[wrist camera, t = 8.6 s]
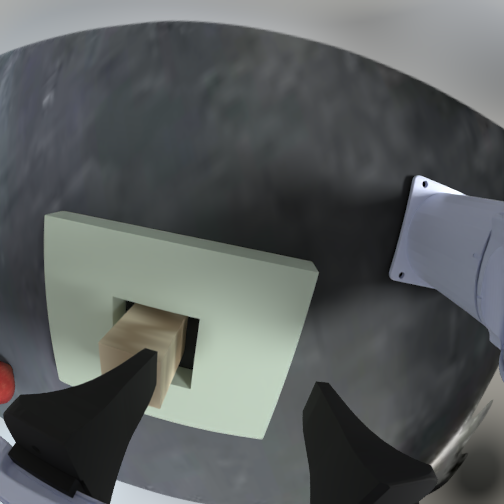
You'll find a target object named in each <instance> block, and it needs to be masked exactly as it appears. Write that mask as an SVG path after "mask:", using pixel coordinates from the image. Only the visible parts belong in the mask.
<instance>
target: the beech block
mask: <svg viewBox="0 0 504 504" xmlns="http://www.w3.org/2000/svg"><path fill="white" fill-rule="evenodd" d="M187 322H188V316H185V315H181V314H177V313H173V312H169V311H165V310H161V309H157V308H153V307H149V306H145V305H142V304H138V303H135V304H134V305H133V306H132V307H131V308H130V309H129V310H128V311H127V312H126V313H125V314H124V315H123V317H122V318H121V319H120V320H119V321H118V322H117V323H116V324H115V325H114V326H113V327H112V328H111V329H110V330H109V331H108V332H107V334H106V335H105V336H104V337H103V338H102V339H101V340H100V341H99V342H98V345H99V356H100V365H101V374H102V375H103V374H105V373H106V372H108V371H110V370H112V369H114V368H115V367H117V366H118V365H120V364H122V363H123V362H125V361H126V360H128V359H129V358H131V357H132V356H134V355H135V354H137V353H138V352H139V351H141V350H142V349H144V348H147V349H151V350H154V351H158V355H157V384H156V387H155V390H154V393H153V396H152V398H151V401H150V403H149V405H148V406H151V407H154V408H158V409H160V408H161V405H162V403H163V401H164V398H165V396H166V393H167V391H168V389H169V386H170V384H171V382H172V379H173V377H174V375H175V372H176V370H177V368H178V365H179V363H180V361H181V358H182V356H183V354H184V350H185V340H186V331H187Z"/></svg>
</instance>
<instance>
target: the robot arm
mask: <svg viewBox="0 0 504 504" xmlns="http://www.w3.org/2000/svg"><path fill="white" fill-rule="evenodd" d="M423 181H424V182H425V187H423V185H422V183H423ZM401 272H402V276H401V277H399V274H400V273H401ZM389 277H390V278H391V279H392V280H394V281H399V282H404V283H409V284H414V285H419V286H423V287H428V288H433V289H436V290H438V291H439V292H441V293H442V294H443V295H445V296H446V297H447V298H449V299H450V300H452V301H453V302H454V303H456V304H457V305H458V306H460V307H461V308H462V309H464V310H465V311H466V312H468V313H469V314H470V315H472V316H473V317H474V318H475V319H477V320H478V321H479V322H481V323H482V324H483V325H484V326H486V327H487V329H488V330H489V333H490V341H491V342H492V343H493V344H494V345H495V346H496V347H498V348H499V349H500V350H501V353H500V358H499V370H500V375H501V378H502V380H503V382H504V202H503V201H497V200H491V199H485V198H479V197H472V196H467V195H465V194H462V193H460V192H458V191H456V190H454V189H451V188H449V187H447V186H445V185H442V184H440V183H437V182H435V181H433V180H430V179H428V178H425V177H423V176H419V175H417V176H414V178H413V180H412V184H411V189H410V194H409V199H408V203H407V208H406V212H405V216H404V220H403V224H402V228H401V232H400V236H399V240H398V243H397V247H396V250H395V254H394V257H393V261H392V264H391V267H390V271H389ZM157 355H158V351H154V350H151V349H147V348H144V349H142V350H141V351H139V352H138V353H137V354H135V355H134V356H132V357H131V358H129V359H128V360H126V361H125V362H123V363H122V364H120V365H118V366H117V367H115V368H114V369H112V370H110V371H108V372H106V373H105V374H103V375H101V376H99V377H97V378H95V379H93V380H90V381H88V382H85V383H83V384H80V385H77V386H74V387H70V388H67V389H63V390H59V391H54V392H48V393H41V394H27V395H20V396H19V397H18V398H17V399H16V400H15V401H14V402H13V403H12V404H11V405H10V406H9V407H8V408H7V410H6V411H5V412H4V414H3V416H4V421H5V423H6V425H7V427H8V429H9V431H10V433H11V435H12V437H13V438H14V440H15V442H16V443H15V445H14V446H13V447H12V446H11V445H10V444H9V443H8V442H7V441H6V440H5V439H3V438H2V437H1V436H0V501H1V502H2V503H3V504H110V501H111V496H112V493H113V489H114V486H115V482H116V479H117V476H118V472H119V469H120V466H121V463H122V460H123V457H124V455H125V452H126V449H127V446H128V444H129V441H130V439H131V437H132V435H133V433H134V431H135V429H136V427H137V426H138V424H139V422H140V420H141V418H142V416H143V414H144V412H145V411H146V409H147V407H148V405H149V403H150V401H151V398H152V396H153V393H154V390H155V387H156V384H157ZM303 433H304V439H305V445H306V451H307V457H308V463H309V470H310V504H419V501H420V500H421V499H423V497H425V496H426V495H427V494H428V493H429V492H430V491H431V490H432V489H433V488H434V487H435V486H436V484H437V482H438V479H437V477H436V475H435V473H434V471H433V468H432V466H431V465H428V464H426V463H423V462H421V461H418V460H416V459H413V458H411V457H409V456H407V455H405V454H403V453H402V452H400V451H398V450H396V449H395V448H393V447H392V446H390V445H389V444H387V443H386V442H384V441H383V440H382V439H380V438H379V437H378V436H377V435H376V434H374V433H373V432H372V431H371V430H370V429H369V428H367V427H366V426H365V425H364V424H363V423H362V422H361V421H360V420H359V419H358V418H357V416H356V415H355V414H354V413H353V412H352V411H351V410H350V409H349V407H348V406H347V405H346V404H345V403H344V401H343V400H342V399H341V398H340V397H339V395H338V394H337V393H336V391H335V390H334V389H333V388H332V387H331V385H330V384H329V383H325V382H316V383H315V385H314V387H313V390H312V392H311V394H310V397H309V399H308V401H307V403H306V406H305V408H304V410H303Z"/></svg>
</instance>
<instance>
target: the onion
mask: <svg viewBox="0 0 504 504" xmlns="http://www.w3.org/2000/svg"><path fill="white" fill-rule="evenodd" d="M14 390H15V381H14V376H13V369H12V367H11V366H10V365H9V364H7V363H4V362H1V361H0V404H4V403H7V402H8V401H9V400H11V398H12V396H13V394H14Z"/></svg>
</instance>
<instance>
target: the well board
mask: <svg viewBox="0 0 504 504" xmlns="http://www.w3.org/2000/svg"><path fill="white" fill-rule="evenodd" d="M44 269H45V287H46V299H47V309H48V318H49V326H50V333H51V339H52V345H53V351H54V356H55V361H56V366H57V371H58V375H59V379H60V380H61V381H63V382H65V383H67V384H69V385H71V386H73V387H74V386H77V385H80V384H83V383H85V382H88V381H90V380H93V379H95V378H97V377H99V376H101V375H102V374H101V365H100V356H99V345H98V342H99V341H100V340H101V339H102V338H103V337H104V336H105V335H106V334H107V332H108V331H109V330H110V329H111V328H112V327H113V326H114V325H115V324H116V323H117V322H118V321H119V320H120V319H121V318H122V317H123V315H124V314H125V313H126V300H127V301H131V302H134V303H138V304H142V305H145V306H149V307H153V308H157V309H161V310H165V311H169V312H173V313H177V314H181V315H185V316H189V317H193V318H198V319H200V322H199V329H198V336H197V343H196V350H195V358H194V366H193V370H191V369H187V368H183V367H179V366H178V368H177V370H176V372H175V375H174V377H173V379H172V382H171V384H170V386H169V389H168V391H167V393H166V396H165V398H164V401H163V403H162V405H161V408H160V409H158V408H154V407H151V406H148V407H147V409H146V411H145V412H144V414H147V415H150V416H153V417H157V418H160V419H164V420H167V421H171V422H175V423H179V424H183V425H187V426H191V427H195V428H200V429H204V430H209V431H214V432H219V433H224V434H230V435H236V436H242V437H249V438H257V439H263V437H264V434H265V432H266V429H267V427H268V424H269V422H270V419H271V417H272V414H273V411H274V409H275V406H276V403H277V401H278V398H279V395H280V393H281V390H282V387H283V384H284V382H285V379H286V376H287V373H288V370H289V367H290V364H291V362H292V359H293V356H294V353H295V350H296V347H297V344H298V340H299V337H300V334H301V331H302V328H303V325H304V322H305V318H306V315H307V312H308V309H309V305H310V302H311V298H312V295H313V292H314V288H315V285H316V281H317V278H318V274H319V272H318V270H317V269H316V267H315V265H314V264H313V262H312V261H307V260H302V259H297V258H293V257H288V256H283V255H278V254H273V253H268V252H264V251H259V250H254V249H249V248H244V247H239V246H234V245H230V244H225V243H220V242H215V241H210V240H205V239H200V238H195V237H191V236H186V235H181V234H176V233H171V232H166V231H161V230H156V229H151V228H146V227H141V226H136V225H132V224H127V223H122V222H117V221H112V220H107V219H102V218H97V217H92V216H87V215H82V214H77V213H72V212H67V211H60V212H56V213H51V214H47V215H45V221H44Z"/></svg>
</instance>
